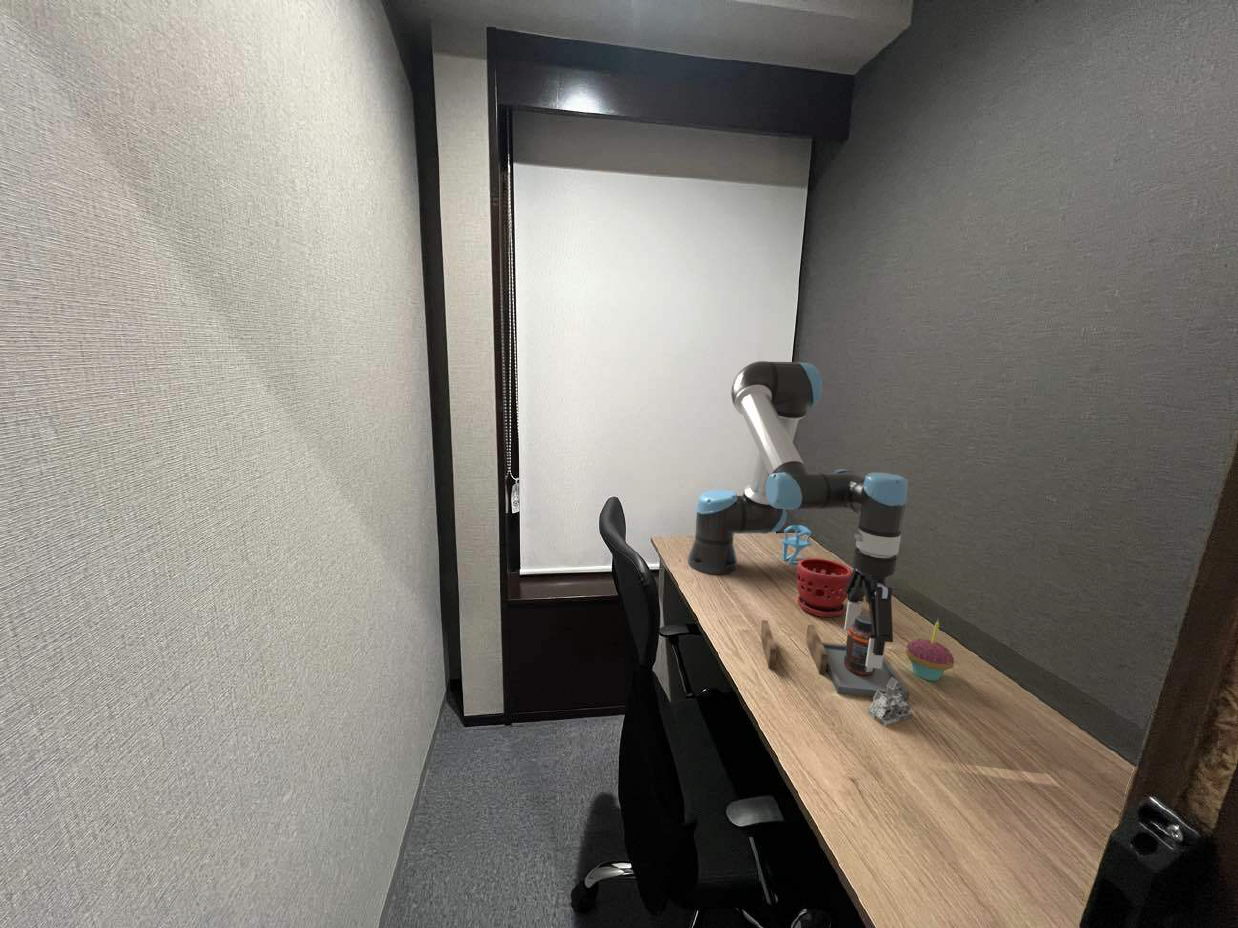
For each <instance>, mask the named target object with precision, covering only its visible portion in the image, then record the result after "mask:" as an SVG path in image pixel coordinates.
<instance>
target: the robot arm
mask: <svg viewBox="0 0 1238 928" xmlns="http://www.w3.org/2000/svg"><path fill="white" fill-rule="evenodd" d="M730 391H731V393H730V394H731V401H732V404H733V406H734V408H735V410H736V411H737V413H739V414H740V415H742V416H743V418H744V420H745V423H746V425H747V427H748V430H749V431H750V434H751V436H752V438H753V440H754V443H755V445H756V447H757V450H758V451H757V456H756V460H755V464H754V469H753V473H752V478H751V482H750V484H748V485H746V486H745V487H744V488H743V489H744V490H743V494H742V495H737V493H736V492H735V491H733V490H730V489H711V490H708V491H705V492H703V493H702V494H700V496H698V499H697V506H696V509H695V510H696V518H695V519H696V520H695V535H694V541H693V543H692V547H691V549H690V551H689V553H688V556H687V557H688V558H687V564H688V566H689V568H691V569H693V570H695V571H697V572H700V573H704V574H709V575H727V574H731V573H734V572H736V570H737V568H738V558H737V557H738V556H737V555H736V550H735V547H734V546H735V545H734V536H735V534H763V535H764V534H768V533H776V532H778V531H781V529H782V528H783V526H784V525H785V523H786V520H787V516H788V512H787V510H792V511H793V510H806V509H808V510H809V509H811V510H812V509H819V510H821V509H824V510H826V509H827V510H828V509H829V510H832V509H836V510H837V509H838V510H839V509H847V510H850V511H853V512H855V513H856V514H858V515H859V519H858V525H857V528H858V529H857V533H855V534H854V538H855V539H856V543H855V546H856V548H855V549H854V556H853V562H852V565H853V569H852V571H851V572H852V574H851V577H850V579H849V582H848V584H847V587H846V589H845V593H846V594H848V595H847V597H846V599H847V605H846V614H845V621H844V627H843V628H844V630H845V631H848V629H849V626H850V625H851V624H853V623H855V617H856V615H859V614H861V613H862V608H863V602H864V601H865V602H866V603H867V604H868V607H869V616H870V618H871V626H872V635H869V645H868V651H867V658H866V664H865V665H866V667H869V668H879V669H881V668H882V662H883V656H884V655H885V650H886V649H885V648H886V643H893V640H894V636H893V633H894V631H893V610H892V596H893V589H892V587H888V586H886V582H885V579H886V578H887V577H890V576H892V575H894V574H895V572H896V566H897V561H898V556H897V555H898V553H899V550H900V545H901V544H900V543H901V539H902V537H901V536H902V534H901V533H902V529H903V524H904V523H903V522H904V517H905V511H906V506H907V502H908V490H909V489H908V487H909V482H908V481H907V479H906V478H905V477H903V476H901V475H898V474H892V473H888V472H869V473H868V474H866V475H865V476H864V475H862V474H859V473H858V472H855V471H854V470H847V469H844V468H841V469H835V470H833V471H832V472H830V473H829V472H828V473H825V472H824V473H822V472H817V473H815V472H809V471H808V469H807V467H806V465H805V463H804V462H803V460H802V457H801V456H800V454H799V452H798V450H797V448H796V447H795V444H794V443H793V442H794V439H795V434H796V431H797V427H798V423H799V420H801V419H803V418H805V417H806V416H807V413H808V409H809V408H812V407H815V406H817V404H819V402H820V401H821V397H822V393H823V382H822V378H821V374H820V372H819V370H818V369H817V367H816V366H814V365H813V364H811V363H808V362H800V361H767V360H766V361H765V360H761V361H760V360H759V361H754V362H752V363H749V364H748V365H745V366H744V367H742V369H741V370H740V371H739V372H738V373H737V374H736V376H735V378H734V379H733V382H732V385H731V390H730ZM864 599H865V600H864ZM884 657H885V656H884Z"/></svg>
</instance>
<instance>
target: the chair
mask: <svg viewBox="0 0 1238 928" xmlns="http://www.w3.org/2000/svg"><path fill="white" fill-rule="evenodd" d="M790 530H793V531H795V533H794V536H793V537H788V532H789V531H790ZM783 531H784V536H785V537H784V538H783V539H781V542H782V544H783V547H782V548H783V549H782V557H781V558H782V559H781V560H782V562H783V561H787V560H788V561H787V564H790V565H791V564H798V563H799V561H800V560H797V561H794V560H795V559H796V558H797V557H799V558H800V559H802V560H804V559H807V558H805V557H803V556H801V555H799V553H800V552H801V551H802V550H803V549H804V548H807V547H810V546H812V542H810V537H811V535H812V531H811V530H810V529H809V528H808V527H807V526H804V525H800V524H798V525H790V526H788V527H786V528H785V529H784V530H783ZM805 535H807V537H805V538H806V539H805V540H804V539H802V538H800V537H802V536H805ZM789 546H792V547H793V548H795V549H796V550H794V551H795V552H794V553H791V554H789V555H788V556H787V554H788V548H789Z"/></svg>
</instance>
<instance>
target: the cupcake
mask: <svg viewBox="0 0 1238 928" xmlns="http://www.w3.org/2000/svg"><path fill="white" fill-rule="evenodd" d="M939 620H940V619H939V618H937V621H936V622H935V623H934V628H933V632H932V633H933V634H932V637H931V639H925V638H917V639H915V640H912V641H910V642H908V644H907V645H906V650H905V654H906V656H907V658H908V660H909V661H910V662H911V666H912V672H913V673H914V674H915V675H916V676H918V678H921V679H923V680H926V681H931V682H932V681H933V682H934V681H938V680H939V679H940V678H941V676H942V675H943V673H944V672H945V671H948V670H950V669H952V668H954V663H955V658H954V655H953V653H952V652H951V650H949V649H948V648H947V647H945V645H943V644H941V643H939V642H937V635H938V633H939V632H938V631H939V627H940V623H939Z"/></svg>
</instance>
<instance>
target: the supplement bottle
mask: <svg viewBox="0 0 1238 928" xmlns="http://www.w3.org/2000/svg"><path fill="white" fill-rule="evenodd" d="M869 635H872V626H871V618H870V615H867V614H859V615H856V617H855V623H853V624H851V625H850V626H849V629H848V630H847V636H846V644H845V645H846V650H845V657H844V665H845V666H846V667H847V669H849V670H850V671H852V672H854V673H856V674H860V675H871V674H873V673H874V671H875V668H869V667H866V665H865V664H866V658H867V651H868V645H869Z"/></svg>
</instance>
